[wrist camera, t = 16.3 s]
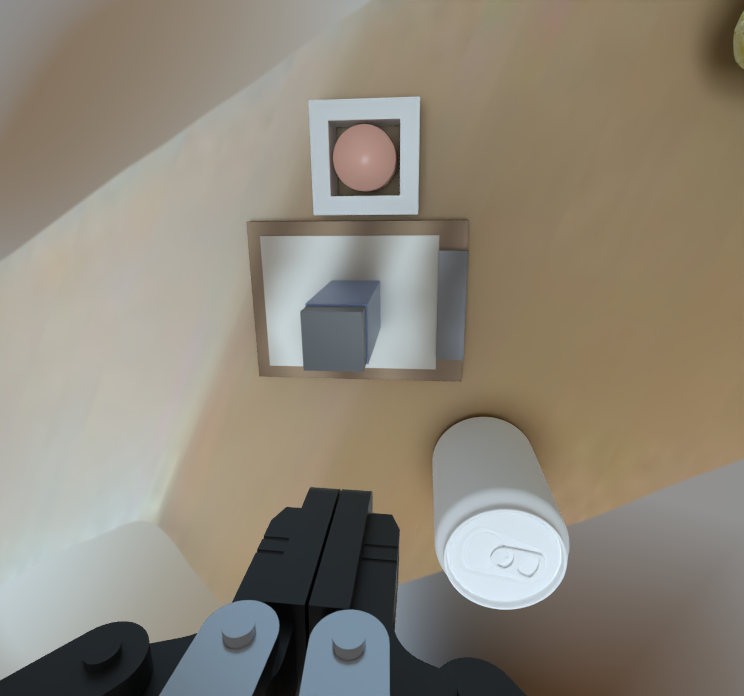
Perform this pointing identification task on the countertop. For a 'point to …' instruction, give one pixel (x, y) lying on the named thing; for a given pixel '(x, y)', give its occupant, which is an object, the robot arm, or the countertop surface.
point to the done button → (365, 158)
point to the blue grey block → (341, 326)
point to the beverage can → (496, 516)
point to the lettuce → (739, 42)
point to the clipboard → (364, 262)
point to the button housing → (348, 115)
